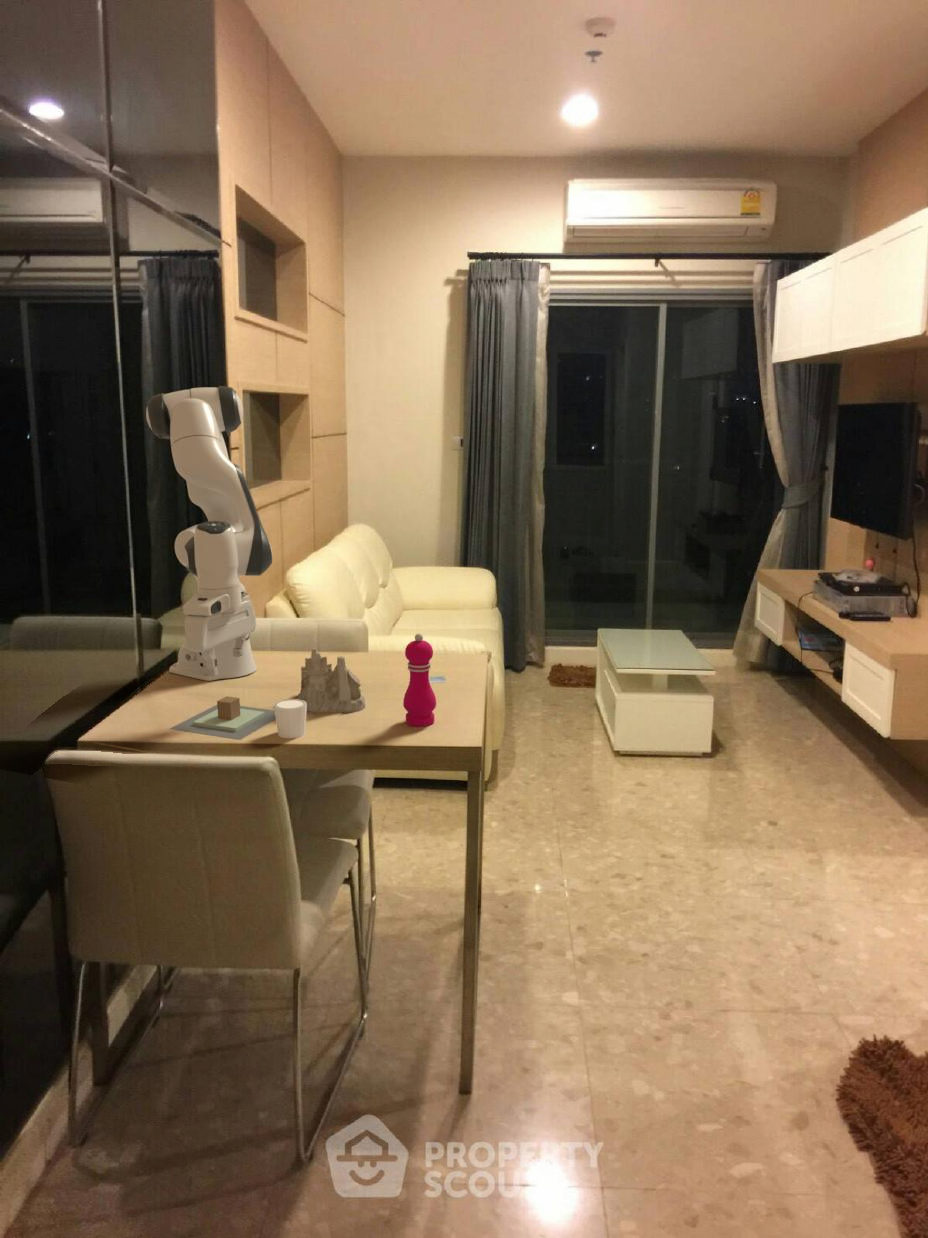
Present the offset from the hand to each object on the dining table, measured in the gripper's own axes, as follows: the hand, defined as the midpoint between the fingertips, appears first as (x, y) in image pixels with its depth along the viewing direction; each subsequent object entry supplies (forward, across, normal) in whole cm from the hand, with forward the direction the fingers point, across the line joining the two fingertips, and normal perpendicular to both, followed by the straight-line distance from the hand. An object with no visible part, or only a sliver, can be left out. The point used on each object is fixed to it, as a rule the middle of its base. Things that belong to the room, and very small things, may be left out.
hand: (225, 661), depth 199 cm
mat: (+14, 0, 0) cm, 14 cm away
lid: (+14, 0, 0) cm, 14 cm away
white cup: (+14, +2, +16) cm, 22 cm away
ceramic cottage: (+14, -20, +14) cm, 28 cm away
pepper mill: (+15, -16, +38) cm, 44 cm away
